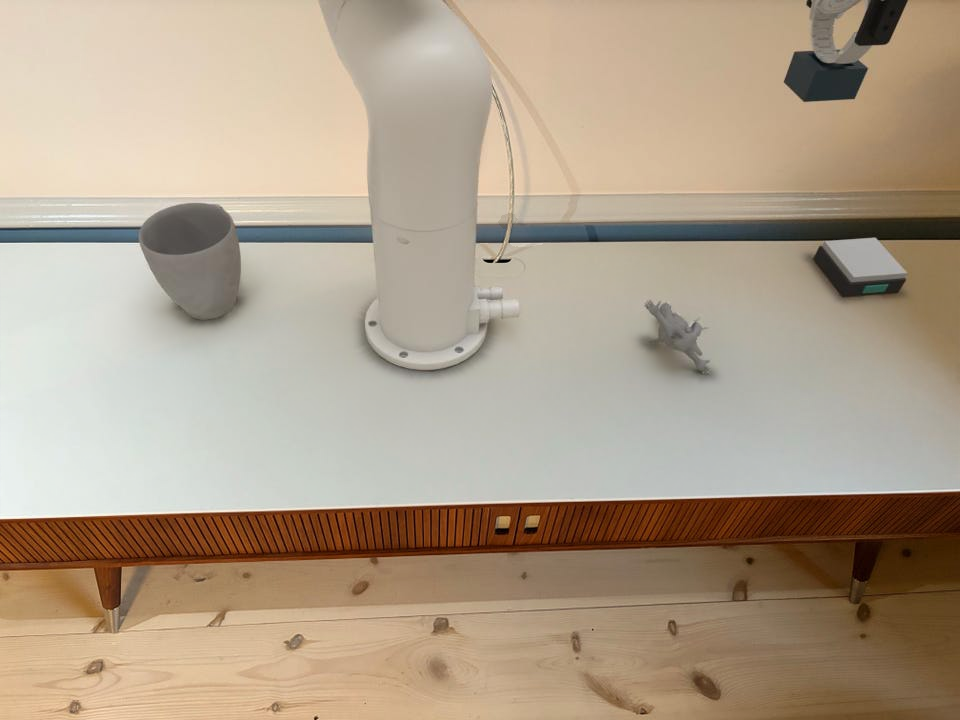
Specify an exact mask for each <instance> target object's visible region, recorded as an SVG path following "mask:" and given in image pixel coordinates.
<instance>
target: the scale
mask: <svg viewBox="0 0 960 720" xmlns="http://www.w3.org/2000/svg"><path fill="white" fill-rule="evenodd" d="M812 259H813V261H814V262H815V264H816V265H817V266H818V268H819V269H820V270H821V271H822V273H823V274H824V275H825V277H826V278H827V279H828V280H829V282H830V283H831V284H832V286H834V288H835V290H836V291H837V293H839V295H840V296H841V297H842V298H853V297H863V296H876V295H887V294H897V293H900V291H901V289H902V288H903V286H904V284H905V283H906V281H907V278H906V277H907V274H908V272H907V271H906V269H904V268H903V266H902V265H901V264H900V263H899V262H898V260H897V259H896V258H894V256H893V255H892V254H891V253H890V251H888V249H886V247H885V246H884V245H883V244H882V243H881V242H880V241H879V240H878V238H877V237H867V238H866V237H863V238H852V239H851V238H850V239H837V240H836V239H833V240H825V241H823V244H822V245H819V246H818V248H817V250H816V252H815V254H814V256H813V257H812Z"/></svg>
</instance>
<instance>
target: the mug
mask: <svg viewBox="0 0 960 720" xmlns="http://www.w3.org/2000/svg"><path fill="white" fill-rule="evenodd" d="M236 228H237V227H236V225H235V222H234V220H233V217H232V216H231V215H230V213H229V212H228V211H226V210H225V208H224V207H222V206H221V205H220V204H218V203H206V202H205V203H204V202H186V203H179V204H175V205H171V206H168V207H165V208H163V209H161V210H159V211H157V212H154V213H153V214H152V215H150V216H149V217H148V218H147V219H146V220H145V221H144V222H143V223H142V224H141V226H140V229H139V233H138V241H139V245H140V249H141V251H142V254H143V256H144V258H145V261H146V263H147V265H148V267H149V269H150V271H151V273H152V275H153V276H154V278H155V280H156V281H157V282H158V284H159V286H160V288H161V289H162V290H163V291H164V293H166V295H167V296H168V297H169V298H170V299H171V300H172V301H173V302H174V303H175V304H177V305H178V306H179V307H180V308H181V309H183V311H184V312H185V313H186V314H187V316H189V317H190V318H193V319H196V320H202V321H203V320H214V319H217V318H220V317H223V316H225V315H227V314H228V313H229V312H231V311H232V309H233V308H234V306H235V305H236V302H237V294H238V290H239V287H240V282H241V274H242V257H241V256H242V255H241V249H240V242H239V236H238V232H237V229H236Z"/></svg>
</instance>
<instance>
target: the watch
mask: <svg viewBox="0 0 960 720" xmlns="http://www.w3.org/2000/svg"><path fill="white" fill-rule="evenodd" d="M811 1H812V5H811V8H810V10H809V21H810V28H809V30H810V31H809V34H810V44H811V48H812V50H800V51H799V50H797V51H794V52H793V55H792V57H791V60H790V63H789V65H788V67H787V72H786V74H785V76H784V79H783V83H784V85H785V86H787V87H788V88H789V89H790V90H791V91H792V92H793V93H794V94H795V95H796V96H797V97H798V98H799V99H800V100H801V101H802V102H803V103H810V102H811V103H812V102H813V103H814V102H827V101H830V102H831V101H846V100H848V101H849V100H855V99H856V98H857V95H858V93H859V90H860V88H861V86H862V84H863V82H864V79H865V77H866V74H867V72H868V70H869V67H867V66H866V65H865V64H864V63H863V62H862V61H860V60H861V58H862V57H863V56H864V55H866V53H868V51H869V50H870V49H871V48H872V47H873V45H871V46H858V45H857V44H856V43H855V42H854V41H855V37H856V35H857V32H858V30H856V31H854V32H853V33H852V35H851V37H850V38H849V39H848V40H847V42H846V43H845V44H844V45H843V46H842V48H841V49H837V48H836V46H835V44H834V43H835V39H834V28H835V26H834V25H835V21H836V20H839V19H840V18H842V16H843V15H844V14H845V13H846V12H847V11H848V10H850V9H852V8H853V7H854V6H857V5H858V4H859V3H860V2H861V1H862V0H811ZM870 1H871V0H864V6H865V7H864V13H863V16H864V15H865V13H866V10H867V8H868V6H869V3H870Z"/></svg>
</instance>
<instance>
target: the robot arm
mask: <svg viewBox="0 0 960 720" xmlns="http://www.w3.org/2000/svg"><path fill="white" fill-rule="evenodd" d="M317 2H318V5H319V7H320V11H321V14H322V17H323V20H324V23H325V26H326V29H327V32H328V34H329V37H330V40H331V43H332V45H333V47H334V49H335V52H336V54H337V56H338V58H339V61H341V63H342V65H343V67H344V69H345V70H346V71H347V73H348V75H349V77H350V78H351V80H352V83H353V85H354V86H355V88H356V90H357V92H358V93H359V95H360V97H361V99H362V102H363V105H364V108H365V111H366V117H367V118H366V119H367V126H368V127H367V129H368V140H367V151H366V182H367V196H368V204H369V212H370V213H369V215H370V223H371V235H372V246H373V257H374V258H373V259H374V260H373V261H374V269H375V281H376V293H377V297H376V298H375V299H374V300H373V301H372V303H370V305H369V306H368V309H367V311H366V313H365V318H364V329H365V335H366V339H367V342H369V344H370V346H371V348H372V349H373V350H374V351H375V352H376V354H377V355H378V356H380V357H381V358H383V359H384V360H385V361H387V362H389V363H391V364H394V365H396V366H399V367H402V368H405V369H410V370H419V371H433V370H440V369H445V368H446V369H447V368H449V367H452V366H455V365H457V364H459V363H462V362H464V361H466V360H467V359H468V358H470V357H471V356H472V355H474V354H475V353H476V352H477V351H478V350H479V349H480V348H481V346H482V345H483V343H484V341H485V339H486V335H487V331H488V324H489V322H490V319H502V320H504V319H518V318H519V317H520V312H521V311H520V302H519V299H518V298H510V299H504V290H503V287H502V286H489V287H486V288H485V287H484V288H480V285H475V272H476V271H475V270H476V269H475V268H476V249H477V248H476V247H477V243H476V242H477V226H478V225H477V223H478V203H479V202H478V197H479V196H478V195H479V194H478V193H479V177H480V176H479V175H480V164H481V155H482V148H483V143H484V137H485V135H486V134H485V133H486V130H487V125H488V123H489V118H490V114H491V108H492V102H493V79H492V72H491V69H490V66H489V62H488V59H487V56H486V54H485V52H484V50H483V48H482V45H481V44H480V43H479V41H478V39H477V38H476V36H475V35H474V33H473V31H472V30H470V28H469V27H468V26H467V24H465V22H463V20H462V19H460V17H459V16H458V15H457V14H456V13H455V12H454V11H453V10H452V9H451V8H450V7H449V6H448V5H447V4H446V3H445V2H444V1H442V0H317ZM908 2H909V0H871V1H870V3H869V6H868V8H867V10H866V13H865V12H864V13H865V15H864V14H863V17H862V20H861V22H860V25H859V28H858V30H857V31H858V32H857V31H856V32H857V35H856V37H855V41H854V42H855V43H856V44H857V45H858V46H871V45H872V46H885V45H888V44H889V43H890V41H891V40H892V38H893V35H894V32H895V30H896V28H897V26H898V24H899V21H900V19H901V17H902V15H903V13H904V10H905V8H906V6H907V4H908ZM805 5H806V6H807V7H808V8H809V9H811V5H812V1H811V0H806V4H805Z"/></svg>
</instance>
